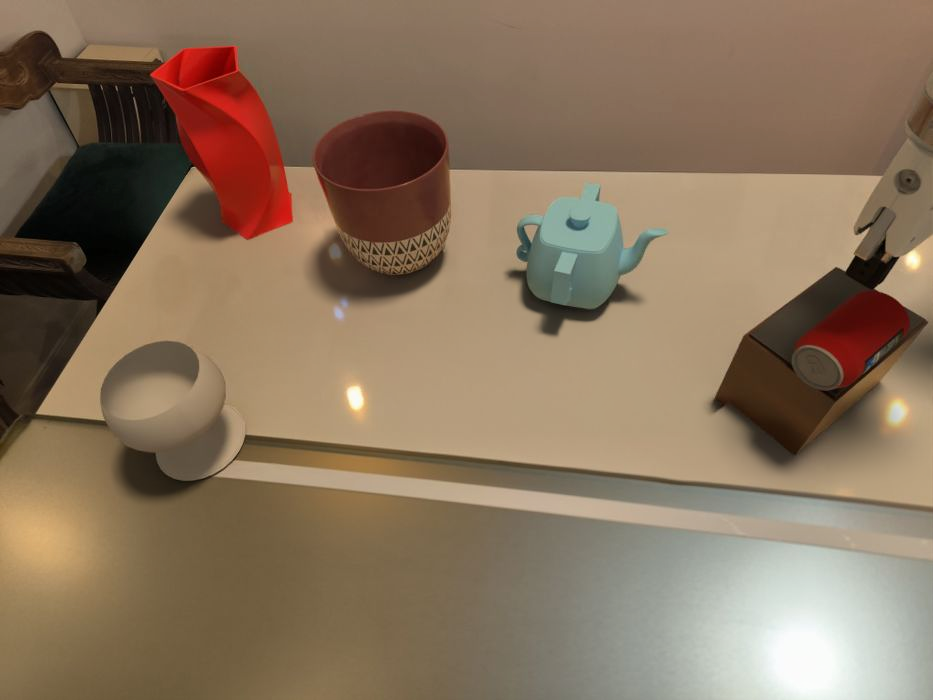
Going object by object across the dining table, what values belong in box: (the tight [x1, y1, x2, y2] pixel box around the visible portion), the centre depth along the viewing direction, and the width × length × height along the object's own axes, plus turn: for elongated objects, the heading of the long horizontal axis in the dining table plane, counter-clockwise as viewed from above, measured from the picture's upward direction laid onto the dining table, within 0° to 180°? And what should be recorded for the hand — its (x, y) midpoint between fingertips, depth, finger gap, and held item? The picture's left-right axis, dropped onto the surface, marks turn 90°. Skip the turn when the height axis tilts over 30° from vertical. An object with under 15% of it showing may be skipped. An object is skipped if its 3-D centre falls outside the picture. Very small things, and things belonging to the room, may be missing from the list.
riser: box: [714, 266, 930, 457], centre depth 77 cm, size 18×12×14 cm, turn 126°
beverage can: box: [792, 290, 910, 390], centre depth 66 cm, size 7×7×12 cm
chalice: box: [99, 340, 247, 482], centre depth 77 cm, size 14×14×15 cm
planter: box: [312, 110, 452, 276], centre depth 95 cm, size 20×20×21 cm
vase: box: [149, 45, 294, 240], centre depth 102 cm, size 15×14×28 cm
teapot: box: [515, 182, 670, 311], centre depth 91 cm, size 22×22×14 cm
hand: (862, 278), depth 63 cm, fingers closed
